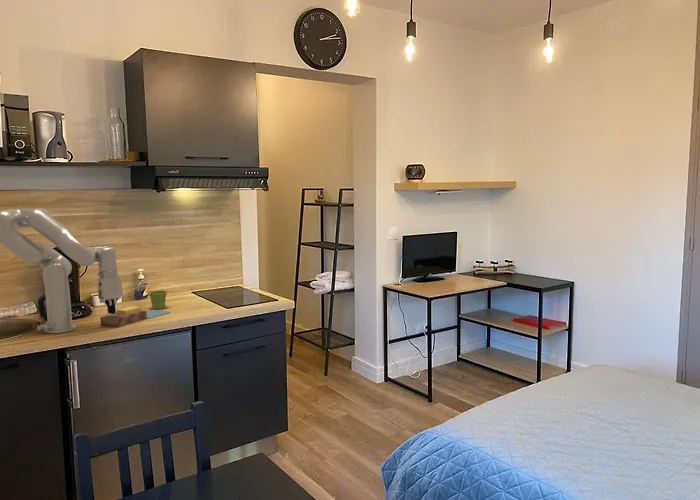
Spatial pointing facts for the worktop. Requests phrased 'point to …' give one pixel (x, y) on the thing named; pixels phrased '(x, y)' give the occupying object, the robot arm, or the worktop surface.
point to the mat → (155, 313)
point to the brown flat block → (122, 319)
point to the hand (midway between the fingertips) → (111, 313)
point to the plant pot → (158, 299)
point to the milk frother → (41, 305)
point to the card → (128, 310)
